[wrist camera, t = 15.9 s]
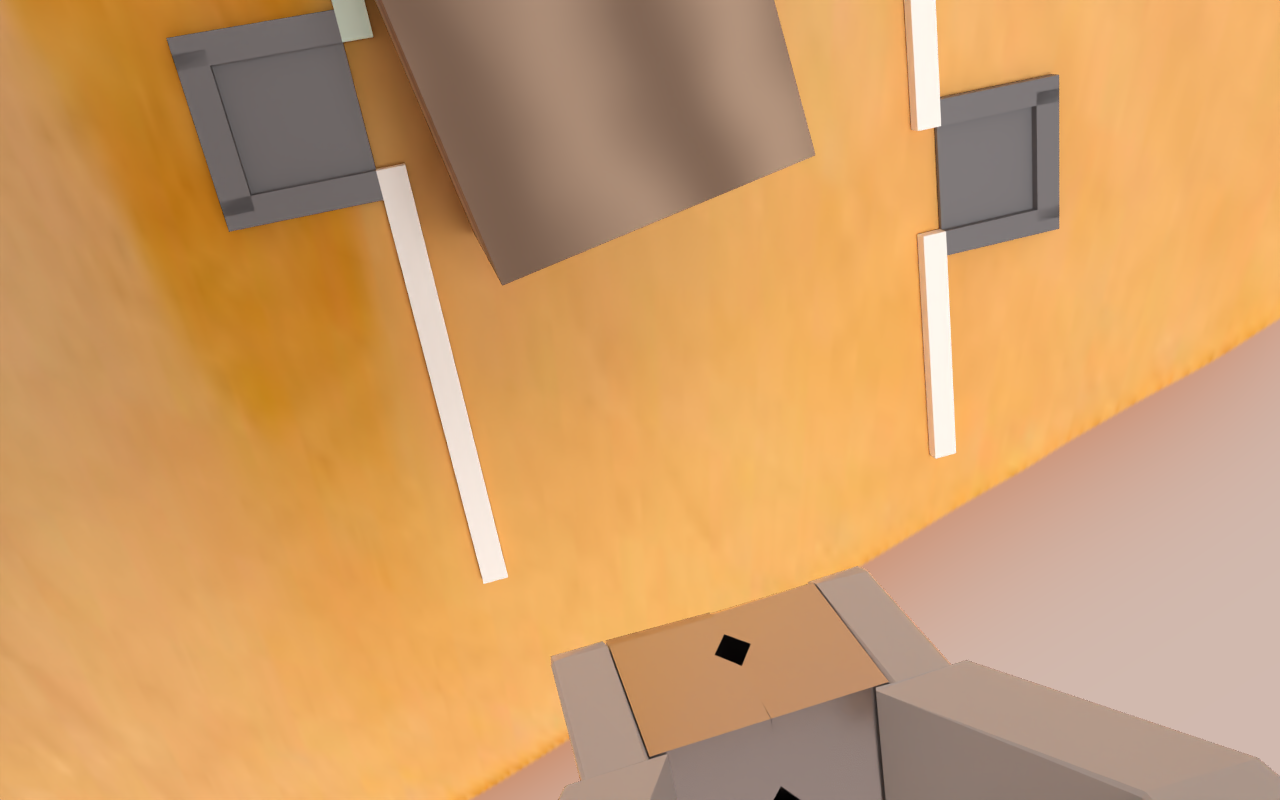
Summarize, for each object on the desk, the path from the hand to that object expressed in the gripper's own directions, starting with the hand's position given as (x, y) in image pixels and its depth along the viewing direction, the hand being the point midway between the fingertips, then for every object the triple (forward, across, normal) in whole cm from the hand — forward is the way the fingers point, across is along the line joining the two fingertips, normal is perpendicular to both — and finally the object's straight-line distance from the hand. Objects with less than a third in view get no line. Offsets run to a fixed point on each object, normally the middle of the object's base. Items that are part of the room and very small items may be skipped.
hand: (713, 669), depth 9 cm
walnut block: (+36, +5, +4) cm, 37 cm away
